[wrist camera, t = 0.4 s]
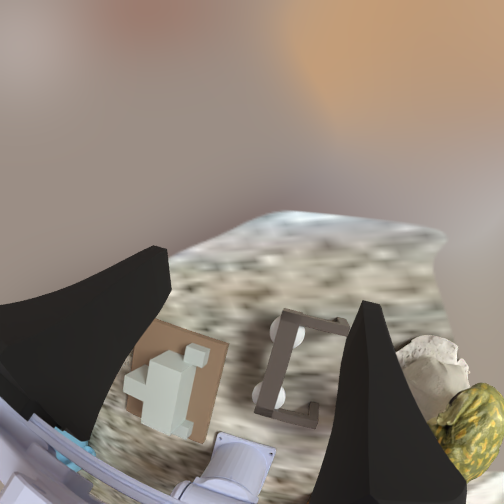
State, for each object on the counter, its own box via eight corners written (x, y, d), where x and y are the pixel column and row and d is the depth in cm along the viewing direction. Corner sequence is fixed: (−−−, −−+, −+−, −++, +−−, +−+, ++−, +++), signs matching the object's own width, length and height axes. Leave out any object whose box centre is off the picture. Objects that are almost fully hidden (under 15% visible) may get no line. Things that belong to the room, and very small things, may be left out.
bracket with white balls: (255, 394, 36) (246, 410, 31) (280, 302, 36) (274, 308, 31) (316, 410, 35) (315, 429, 30) (345, 319, 35) (350, 327, 30)
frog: (350, 402, 34) (369, 496, 16) (415, 315, 33) (491, 354, 15) (416, 440, 32) (459, 528, 14) (477, 361, 31) (558, 413, 13)
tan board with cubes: (130, 407, 40) (107, 423, 34) (144, 314, 40) (117, 320, 34) (205, 439, 37) (188, 462, 31) (229, 343, 37) (213, 357, 31)
